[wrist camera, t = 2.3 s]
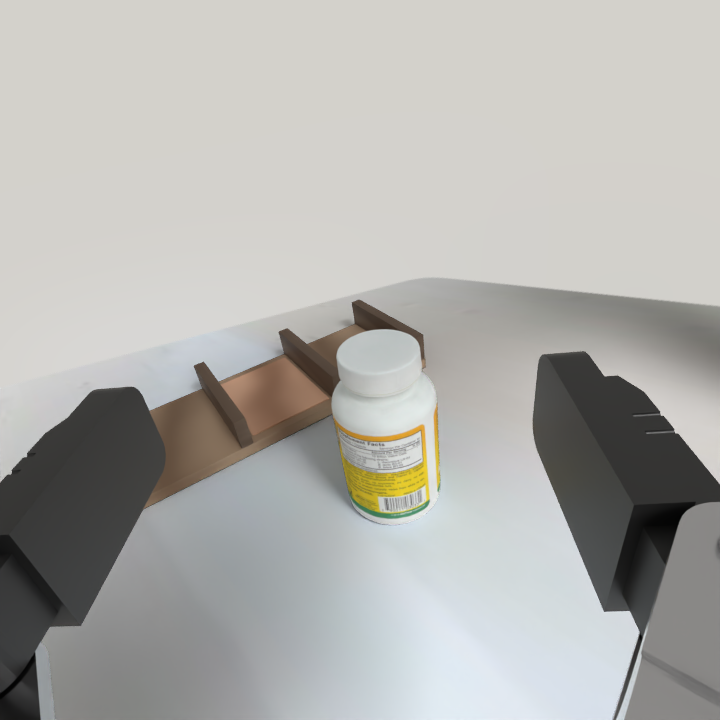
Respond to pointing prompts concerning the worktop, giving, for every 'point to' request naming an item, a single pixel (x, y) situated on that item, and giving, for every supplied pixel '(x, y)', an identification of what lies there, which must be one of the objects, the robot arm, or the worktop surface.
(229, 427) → the slot rack
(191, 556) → the worktop surface
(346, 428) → the supplement bottle
